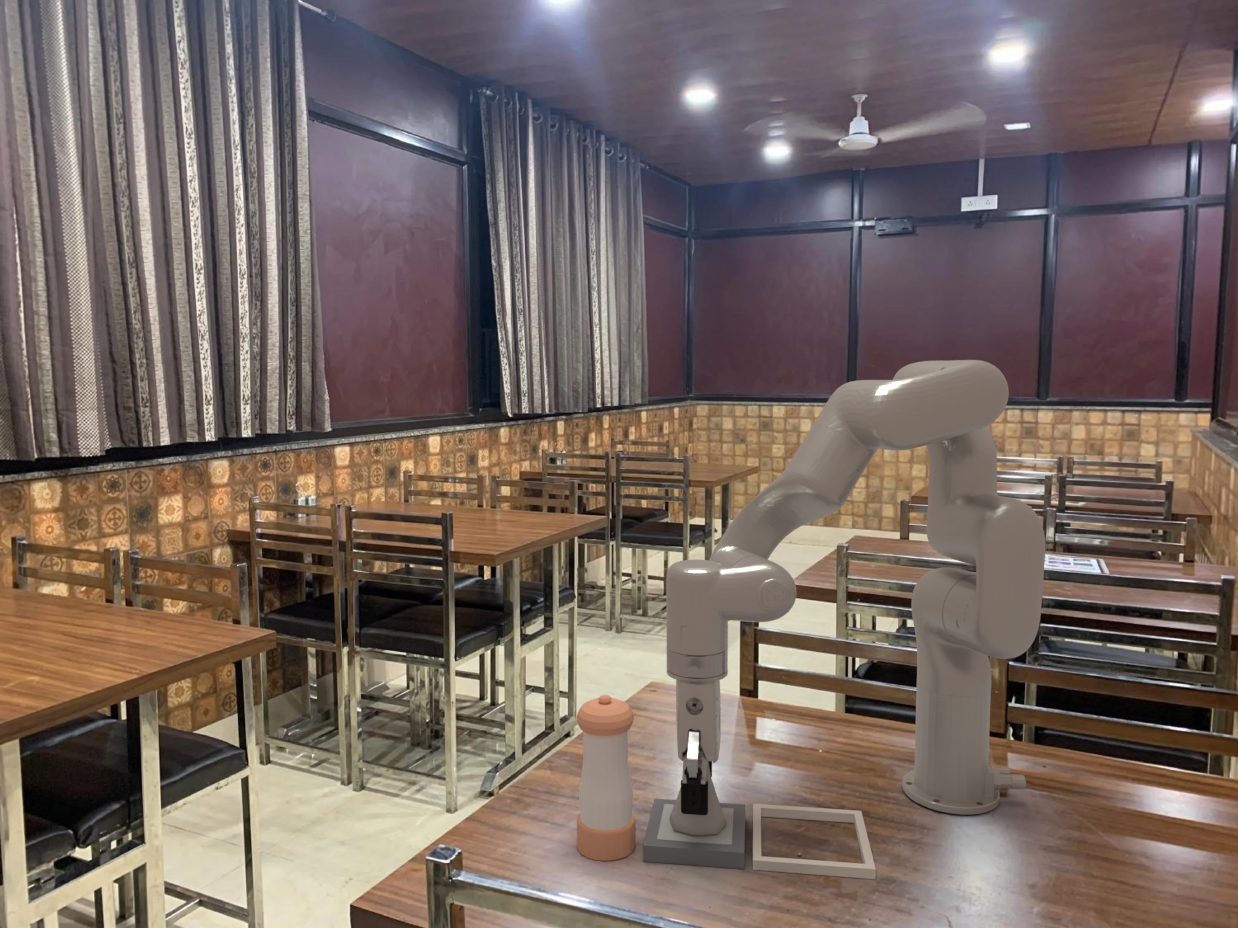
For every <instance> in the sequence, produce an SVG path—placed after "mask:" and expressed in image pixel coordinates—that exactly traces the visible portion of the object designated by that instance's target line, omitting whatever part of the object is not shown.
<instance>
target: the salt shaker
mask: <svg viewBox="0 0 1238 928" xmlns="http://www.w3.org/2000/svg"><path fill="white" fill-rule="evenodd" d="M634 720H635V716H634V711H633V710H632V708H631V706H630V705H629V704H628V703H626V702H625V701H624V700H620V699H618V698H613V697H611V696H610V695H608V694H601V695H599V697H597V698H594V699H591V700H588V701H585V702H584V703H582V705H581V706H580V708H579V709H578V711H577V714H576V722H577V726H578V727H579V729H580V730H581V731H582V733H583V734H582V742H583V744H582V745H583V746H582V747H583V749H582V750H583V751H582V754H583V755H582V756H583V757H582V758H583V759H582V761H583V762H582V768H581V774H580V780H579V781H580V782H579V789H578V799H579V800H578V802H579V814H578V816H577V818H576V847H577V850H578V852H579V853H580V854H581V855H582V856H584V857H586V858H587V859H591V860H594V861H602V862H606V861H617V860H620V859H624V858H626V857H628V856H629V855H631V854H632V853H633V851H635V849H636V842H637V841H636V835H637V834H636V817H635V815H634V814H635V813H633V803H634V801H633V800H634V799H633V798H634V795H633V794H634V793H633V792H634V790H633V785H632V778H631V772H630V765H629V752H628V751H629V750H628V748H629V743H628V741H629V739H628V737H629V736H628V731H629V730H630V729H631V727H632V725H633V722H634Z"/></svg>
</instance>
